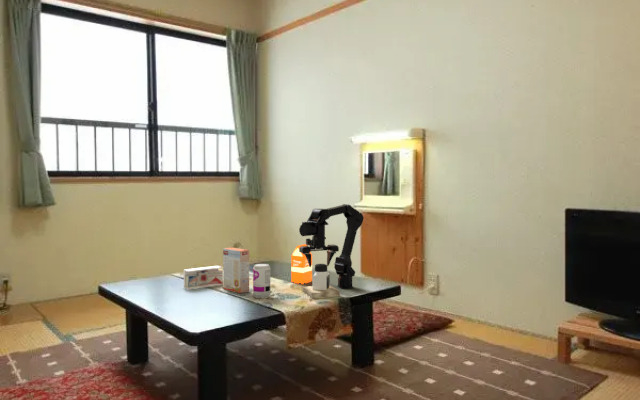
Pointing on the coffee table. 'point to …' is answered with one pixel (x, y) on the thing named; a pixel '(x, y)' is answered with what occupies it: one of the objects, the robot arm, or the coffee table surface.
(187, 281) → the cigarette display
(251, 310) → the coffee table surface
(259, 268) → the supplement can
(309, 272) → the orange juice
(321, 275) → the medicine bottle
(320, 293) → the pale wooden riser board
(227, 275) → the cracker box
